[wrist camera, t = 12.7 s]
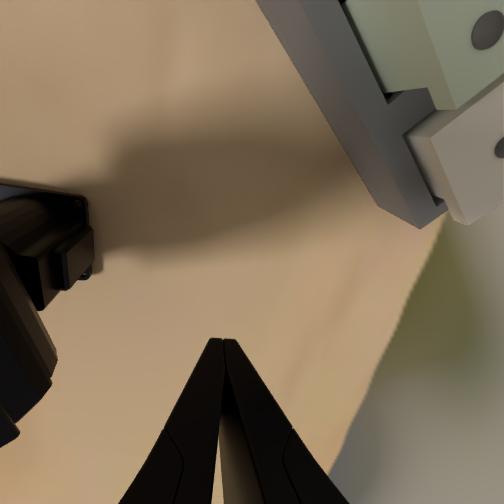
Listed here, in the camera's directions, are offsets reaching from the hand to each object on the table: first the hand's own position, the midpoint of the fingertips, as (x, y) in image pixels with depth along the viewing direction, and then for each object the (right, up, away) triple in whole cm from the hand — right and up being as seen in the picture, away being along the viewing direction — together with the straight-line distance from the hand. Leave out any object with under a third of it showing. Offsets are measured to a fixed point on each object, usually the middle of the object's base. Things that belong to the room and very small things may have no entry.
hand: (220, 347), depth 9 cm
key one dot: (+12, +11, +10) cm, 19 cm away
